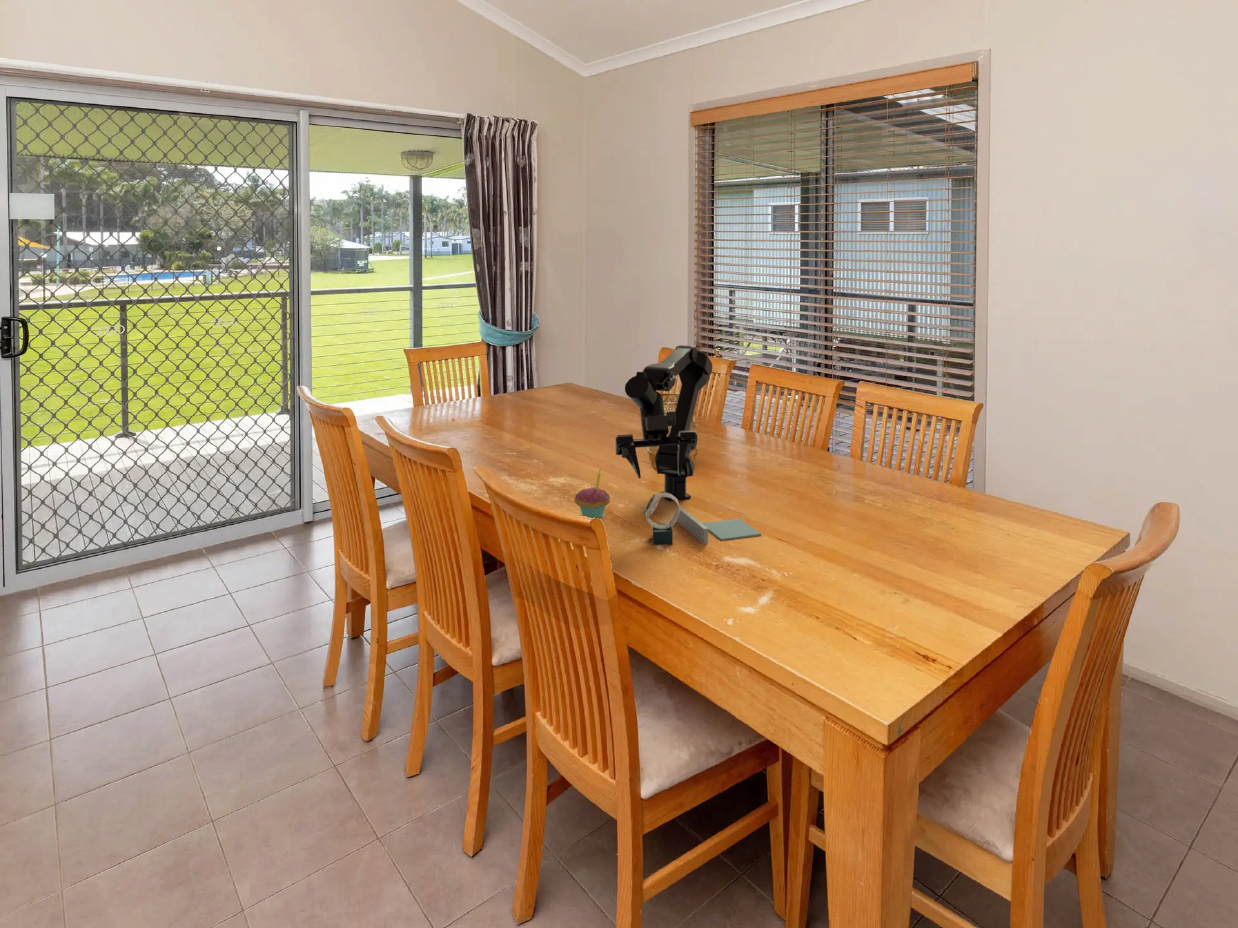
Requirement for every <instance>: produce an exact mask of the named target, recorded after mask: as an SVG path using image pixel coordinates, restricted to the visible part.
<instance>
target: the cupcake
mask: <svg viewBox="0 0 1238 928" xmlns="http://www.w3.org/2000/svg"><path fill="white" fill-rule="evenodd" d="M600 479H601V469H599V470H598V472H597V476H596V483H595V486H592V487H588V488H583V489H580V490H579V492H577V493H576V494H575V496H574V503H575V504H577V506H578V507H579V509H580V511H581V515H582V516H587V517H590V518H594V517H595V518H599V519H601V518H603V515H604V512H605V509H606V506H607V505H608V504H610V501H611V496H610V494H609V493H608V492H607V491H606V490H603V489H602V488H599V487H600V486H599V485H600Z"/></svg>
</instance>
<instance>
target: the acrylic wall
mask: <svg viewBox="0 0 1238 928" xmlns="http://www.w3.org/2000/svg"><path fill="white" fill-rule="evenodd" d="M676 523H678V524H680V526H681V527H683V528H684V529H685V530H686V531H687V532H689V533H690V534H691V535H692V536H694V537H695V538H696V539H697V540H698V541H700V542H701V543H702V544H704V545H707V544H708V543H709V531H708V528H707V527H706V526H704V525H703V524H702V523H703V522H701V521H700V520H698V519H697V518H695V516H693V515H692V514H690V513H689V512H688V511H686V510H685V509H684V508H683V507H681V506H680V514H679V517H678V519H677V521H676Z"/></svg>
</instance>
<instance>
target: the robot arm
mask: <svg viewBox="0 0 1238 928" xmlns="http://www.w3.org/2000/svg"><path fill="white" fill-rule="evenodd" d="M712 373H713V363H712V361H711V359H710V358H709V356H708V355H706V354H705V353H703V352H701V351H700V350H698V348H697V347H696V346H694V345H683V344H680V345H676V347H675V349H674V350H673V351H672V352H671V353H670V354H669V355H668V356H666V357H665V358H664V359H663V360H661V361H660V362H658V363H651V364H649V365H647V366H645V367H644V368H643V370H641V371H636V375H635V376H633V377H630V378H629V379H628V380H627V382H626V383H625V385H624V391H625V394H626V396H627V397H628V398H630V400H631V401H632V402H633V404H634V405H635V406H636V407H638V408H639V413H640V422H641V423H640V424H641V430H642V431H641V432H642V433H641V434H642V438H635V439H634V435H633V434H632V433H631V434H629V433H628V434H627V433H626V434H618V435H616V437H615V444H614V445H615V447H614V448H615V455H616V456H621V459H622V458H623V459H626V460H627V462H628V463H629V464H630V465H631V466H632V469H633V470H634V472H635V474H636V476H637V478H638V479H639V480H640V479H641V478H642V476H641V468H640V464H639V460H638V456H637V455H638V454H637V448H639V449H640V448H650V447H658V448H657V451H656V454H655V456H654V458H655V459H654V461H655V462H654V463H655V468H656V473H657V474H658V475H663V477H664V482H663V485H664V489H663V490H662V491H660V492H659V493H662V492H665V493H670V494H672V495H673V496H674V497H676V499H677V500H685V499H691V498H692V495H690V493H688V492H687V478H689V477H693V476H694V472H695V464H694V462H693V459H692V457H691V451H694V450H696V447H697V444H698V443H697V442H698V434H697V432H696V431H695V430H694V429H691V424H692V420H693V417H694V413H695V408H696V405H697V401H698V396H699V392H700V391H701V390H702V389H703V388H704V387H705V386H706V385H707V384H708V382H709V379H710V376H711V374H712ZM676 376H678V377H679V380H680V384H681V387H680V391H679V395H678V399H677V403H676V407H675V410H674V411H667V412H666V413H665V408H664V407H665V406H664V399H663V395H662V394H661V393H660V392H670V391H671V390H672V389H673V387H674V386H675V384H676V381H677V378H676ZM669 427H670V431H669ZM662 498H664V499H666V500H667V501H674V500H673V499H671V498H668V497H664V496H663V497H662Z"/></svg>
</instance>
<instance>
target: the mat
mask: <svg viewBox="0 0 1238 928" xmlns="http://www.w3.org/2000/svg"><path fill="white" fill-rule="evenodd" d="M701 523H702V524H703V525H704V526H706V527H707V528H708V532H710V533H711V534H712V535H713V536H715V537H716V538H717V539H718V540H720V541H721V542H722V541H729V540H738V539H745V538H751V537H752V538H753V537H758V536H762V533H761V532H760V531H759V530H757V529H755V528H754V527H753V526H752V525H750V524H748V523H747V522H745V521H744V520H743V519H741V518H734V519H726V520H725V519H724V520H717V521H716V520H715V521H711V522H710V521H709V522H701Z"/></svg>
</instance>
